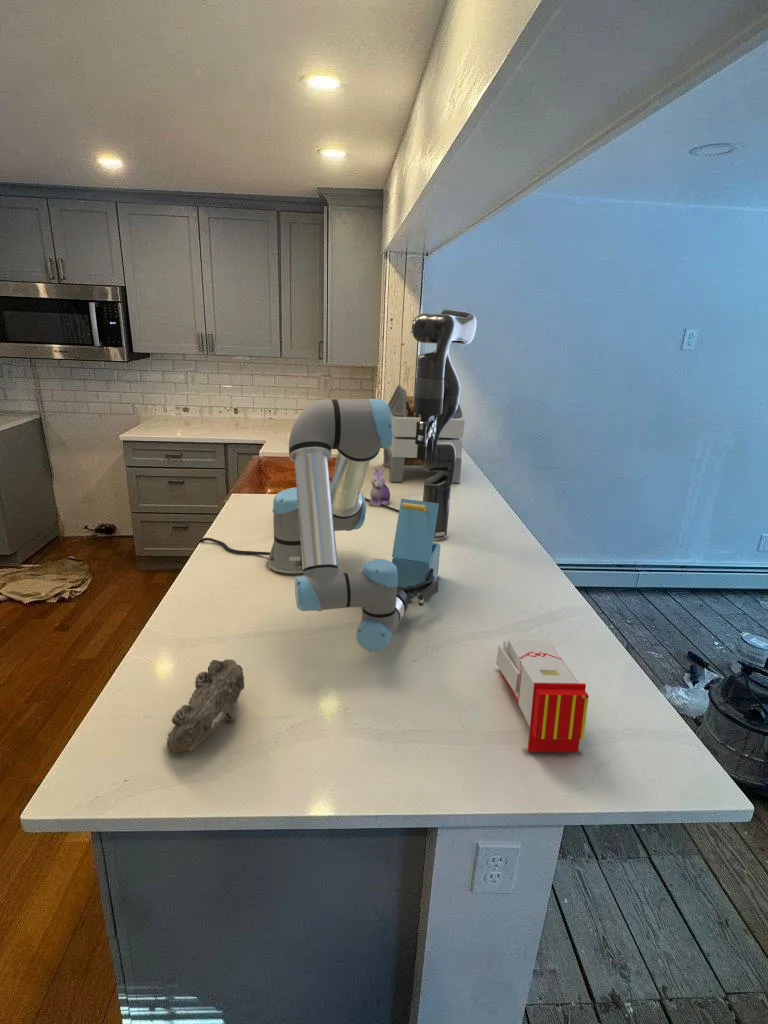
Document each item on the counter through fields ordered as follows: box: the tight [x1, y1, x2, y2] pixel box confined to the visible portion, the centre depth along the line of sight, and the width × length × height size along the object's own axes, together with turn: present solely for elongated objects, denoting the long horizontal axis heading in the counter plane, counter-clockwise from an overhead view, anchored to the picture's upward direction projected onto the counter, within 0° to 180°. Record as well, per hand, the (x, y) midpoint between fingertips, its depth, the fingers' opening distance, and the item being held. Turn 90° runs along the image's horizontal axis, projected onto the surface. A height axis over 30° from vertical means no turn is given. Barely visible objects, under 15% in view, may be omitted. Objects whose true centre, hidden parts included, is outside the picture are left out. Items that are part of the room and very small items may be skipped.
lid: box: [391, 498, 439, 563], centre depth 150 cm, size 16×10×8 cm
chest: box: [391, 542, 441, 587], centre depth 162 cm, size 16×10×11 cm
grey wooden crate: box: [383, 384, 465, 484], centre depth 268 cm, size 34×33×41 cm
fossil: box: [166, 658, 245, 754], centre depth 106 cm, size 22×10×15 cm
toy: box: [495, 638, 589, 753], centre depth 114 cm, size 12×13×30 cm
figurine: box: [369, 465, 391, 507], centre depth 228 cm, size 9×10×15 cm
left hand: (412, 569), depth 157 cm, fingers closed on chest, 10 cm apart
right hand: (424, 456), depth 152 cm, fingers open, 8 cm apart
